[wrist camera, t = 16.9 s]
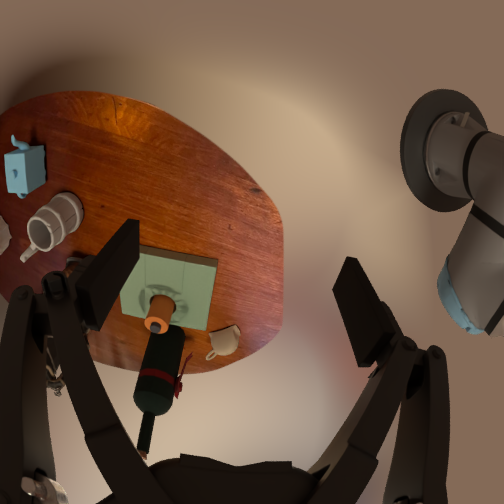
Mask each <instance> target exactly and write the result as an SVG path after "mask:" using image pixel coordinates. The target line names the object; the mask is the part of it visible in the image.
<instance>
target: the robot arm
mask: <svg viewBox="0 0 504 504" xmlns="http://www.w3.org/2000/svg"><path fill="white" fill-rule="evenodd" d="M469 114H470V113H468V112H465V114H463V113H460V112H455V111H448V112H444V113H442V114H440V115H439V116H437V117H436V118H435V119H434V121H433V122H432V123H431V125H430V126H429V128H428V131H427V133H426V136H425V140H424V145H423V162H424V167H425V171H426V174H427V176H428V178H429V180H430V181H431V183H432V184H433V185H434V186H435V187H436V188H437V189H438V190H440V191H441V192H443V193H445V194H447V195H450V196H453V197H461V198H468V199H473V200H474V203H473V206H472V208H471V211H470V213H469V215H468V217H467V220H466V222H465V224H464V226H463V229H462V231H461V233H460V235H459V237H458V239H457V241H456V243H455V245H454V247H453V249H452V251H451V252H450V254H449V255H448V256H447V258H446V261H445V264H444V267H443V269H442V271H441V273H440V274H439V277H438V280H437V287H438V294H439V297H440V299H441V301H442V304H443V306H444V307H445V309H446V310H447V312H448V313H449V315H450V316H451V317H452V318H453V320H454V321H455V322H456V323H457V324H458V325H459V326H460V327H461V328H463V329H464V328H465V329H466V331H467V332H469V333H471V334H479V333H481V332H483V331H484V330H485V331H486V333H487V334H488V335H489V336H490V337H497V336H503V337H504V136H501V135H498V134H495V133H492V132H490V131H487V130H486V129H485V128H484V127H482V126H481V125H480V124H479V123H477V122H476V121H475V120H474V119H472V118H471V117H469ZM139 259H140V245H139V220H135V219H127V220H126V222H125V223H124V224H123V225H122V226H121V227H120V228H119V229H118V231H117V232H116V233H115V234H114V235H113V236H112V238H111V239H110V240H109V241H108V242H107V243H106V245H105V246H104V247H103V248H102V249H101V251H100V252H99V253H98V254H97V256H94V255H88V256H87V257H85V258H84V259H82V260H81V262H80V263H79V264H78V266H76V268H75V269H74V271H72V273H71V274H70V275H69V276H68V278H67V276H66V274H65V273H63V272H62V271H52V272H50V273H48V274H46V275H45V276H44V277H43V278H42V281H41V284H42V288H43V291H44V294H34V291H33V289H32V287H30V286H28V285H23V286H20V287H18V288H16V289H15V290H14V291H13V293H12V295H11V298H10V302H9V306H8V310H7V314H6V318H5V323H4V327H3V333H2V337H1V342H0V504H68V499H67V495H66V493H65V490H64V489H63V488H62V486H61V485H60V484H58V483H57V482H56V472H55V464H54V457H53V452H52V445H51V438H50V431H49V422H48V410H47V391H46V356H47V337H48V335H53V340H54V344H55V348H56V352H57V356H58V360H59V364H60V367H61V371H62V374H63V377H64V381H65V384H66V387H67V390H68V393H69V396H70V398H71V401H72V404H73V407H74V409H75V412H76V415H77V417H78V419H79V422H80V424H81V427H82V429H83V431H84V434H85V441H86V444H87V446H88V449H89V451H90V452H91V455H92V457H93V459H94V461H95V463H96V464H97V466H98V468H99V470H100V472H101V473H102V475H103V477H104V479H105V480H106V482H107V484H108V485H109V487H110V489H111V491H112V492H113V493H112V494H110V495H109V496H107V497H106V498H104V499H103V500H101V501H100V502H98V503H96V504H355V503H356V502H357V500H358V499H359V497H360V495H361V494H362V492H363V490H364V489H365V487H366V485H367V484H368V482H369V480H370V479H371V477H372V475H373V473H374V471H375V469H376V467H377V465H378V460H377V459H376V456H377V453H378V452H379V450H380V448H381V446H382V443H383V442H384V440H385V437H386V435H387V433H388V431H389V429H390V426H391V424H392V422H393V420H394V417H395V415H396V413H397V410H398V407H399V405H400V403H401V408H400V416H399V424H398V431H397V437H396V442H395V448H394V453H393V458H392V463H391V468H390V471H389V476H388V480H387V484H386V487H385V492H384V497H383V504H448V499H447V490H446V477H447V469H448V468H447V467H448V457H449V441H450V403H449V402H450V401H449V383H448V373H447V362H446V356H445V353H444V352H443V350H442V349H441V348H440V347H438V346H435V345H432V346H430V347H429V348H428V349H427V351H425V350H422V349H418V347H417V345H416V343H415V342H414V341H413V340H412V339H411V338H409V337H407V336H404V335H403V333H402V331H401V329H400V327H399V325H398V323H397V321H396V320H395V317H394V316H393V313H392V311H391V310H390V308H389V307H388V306H387V304H386V303H385V302H383V301H380V299H379V297H378V296H377V294H376V292H375V290H374V288H373V287H372V284H371V283H370V281H369V279H368V277H367V275H366V274H365V272H364V270H363V268H362V267H361V265H360V263H359V261H358V260H357V258H353V257H346V259H345V262H344V264H343V266H342V269H341V271H340V273H339V275H338V278H337V280H336V283H335V284H334V287H333V289H332V290H333V293H334V296H335V299H336V301H337V304H338V307H339V310H340V313H341V316H342V318H343V322H344V325H345V327H346V330H347V333H348V336H349V339H350V342H351V345H352V349H353V352H354V355H355V358H356V361H357V364H358V367H371V365H372V364H373V363H374V362H375V360H376V362H377V365H378V366H377V367H376V369H375V370H374V371H373V372H372V373H371V374H370V376H369V377H368V378H370V379H369V381H368V383H367V385H366V387H365V388H364V390H363V392H362V394H361V396H360V397H359V399H358V401H357V403H356V404H355V406H354V408H353V409H352V411H351V413H350V414H349V416H348V418H347V419H346V421H345V422H344V424H343V425H342V427H341V428H340V430H339V431H338V433H337V434H336V436H335V437H334V439H333V440H332V442H331V443H330V445H329V446H328V448H327V449H326V450H325V452H324V453H323V454H322V456H321V457H320V458H319V460H318V461H317V462H316V463H315V464H314V465H313V466H312V467H311V468H310V469H309V470H308V471H307V472H306V471H304V470H302V469H299V468H296V467H292V461H276V462H274V461H272V462H271V461H265V462H261V463H256V464H250V465H245V466H233V465H230V464H226V463H223V462H220V461H217V460H214V459H211V458H208V457H201V456H194V455H187V454H180V458H172V459H166V460H163V461H160V462H157V463H155V464H153V465H151V466H149V467H148V466H147V465H146V463H145V461H144V460H143V458H142V457H141V455H140V454H139V452H138V450H137V449H136V447H135V446H134V444H133V442H132V441H131V439H130V437H129V435H128V434H127V432H126V430H125V428H124V427H123V425H122V423H121V421H120V419H119V417H118V416H117V413H116V412H115V409H114V408H113V406H112V403H111V402H110V399H109V397H108V395H107V393H106V391H105V388H104V386H103V384H102V382H101V379H100V377H99V375H98V372H97V370H96V367H95V365H94V363H93V360H92V357H91V355H90V352H89V349H88V347H87V344H86V341H85V338H84V335H83V332H82V329H81V326H80V325H81V324H82V322H83V320H84V322H85V325H86V328H89V329H92V330H95V331H100V329H101V327H102V325H103V323H104V321H105V319H106V317H107V315H108V313H109V312H110V310H111V308H112V306H113V304H114V302H115V300H116V299H117V297H118V295H119V293H120V291H121V290H122V288H123V286H124V284H125V282H126V281H127V279H128V277H129V276H130V274H131V272H132V270H133V269H134V267H135V265H136V264H137V262H138V260H139Z"/></svg>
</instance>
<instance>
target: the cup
mask: <svg viewBox="0 0 504 504" xmlns="http://www.w3.org/2000/svg"><path fill="white" fill-rule="evenodd" d="M11 238H12V237H11V235H10V232H9V228H8V224H6V223H5V221H4V220H3V219H2V216H0V255H1V254H2V252H3V251H4V250H5V249H6V248H7V247H8V246H9V240H10V239H11Z"/></svg>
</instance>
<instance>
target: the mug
mask: <svg viewBox="0 0 504 504" xmlns="http://www.w3.org/2000/svg"><path fill="white" fill-rule="evenodd" d="M82 208H83V207H82V204H81V202H80V201H79V199H78V198H77V197H76V196H75V195H74V194H72V193H68V192H64V193H60V194H57V195H56V196H54V197H53V198H52V199H51V201H50V202H49V203H48V204H47V205H44V206H43V207H41V208H40V209H39V210H38V211H37V213H36V214H35V215H34V216H33V217H31V219H30V220H29V221H28V224H27V232H28V235H29V238H30V240H31V242H32V243H31V245H30V247H29V248H28V249H27V250H26V251H25V252H24V253H23V254H22V255H21V257H20V259H21V260H22V261H23V262H25V261H26V260H27V259H28V258H29V257H30V256H32V255H33V254H34V253H36V252H37V251H38V250H41V251H49V250H51V249H52V248H53V247H54V246H55V245H57V244H59V243H61V242H62V241H63V240H64V238H65V236H66V235H67V234H69V233H71V232H73V231H75V230H76V229H77V228H78V227H79V225H80V223H81V221H82V219H83V209H82Z"/></svg>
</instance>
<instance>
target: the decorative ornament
mask: <svg viewBox="0 0 504 504" xmlns="http://www.w3.org/2000/svg"><path fill="white" fill-rule="evenodd" d="M239 335H240V330H239V329H238V327H237V326H236V325H234V326H231V327H229V328H227V329H224V330H221V331H218V332H211V333H209V336H210V337H211V344H212V348H213V349H212V350H211V351H210V352H209V353H208V354H207V356H206V359H207V360H211V359H212V358H214V357H215V356H216V355H217V354H219V355H222V356H223V355H227V354H231V353H233V352H234V351H235V350H236V348H237V347H238V344H239ZM213 352H215V353H214V354H213V355H212V356H211V357H210V358H208V357H209V356H210V355H211V354H212V353H213Z"/></svg>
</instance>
